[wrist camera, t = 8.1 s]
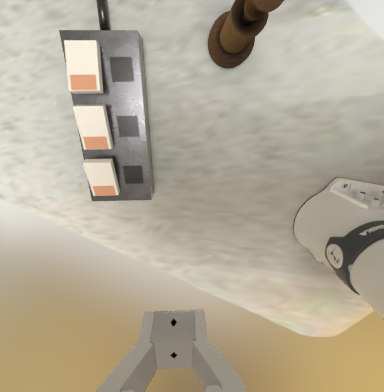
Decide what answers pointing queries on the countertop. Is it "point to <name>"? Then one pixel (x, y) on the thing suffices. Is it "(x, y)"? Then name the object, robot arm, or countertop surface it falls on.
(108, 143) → the rocker middle
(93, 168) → the block
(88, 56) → the rocker
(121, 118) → the power strip
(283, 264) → the countertop surface
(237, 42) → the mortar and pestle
